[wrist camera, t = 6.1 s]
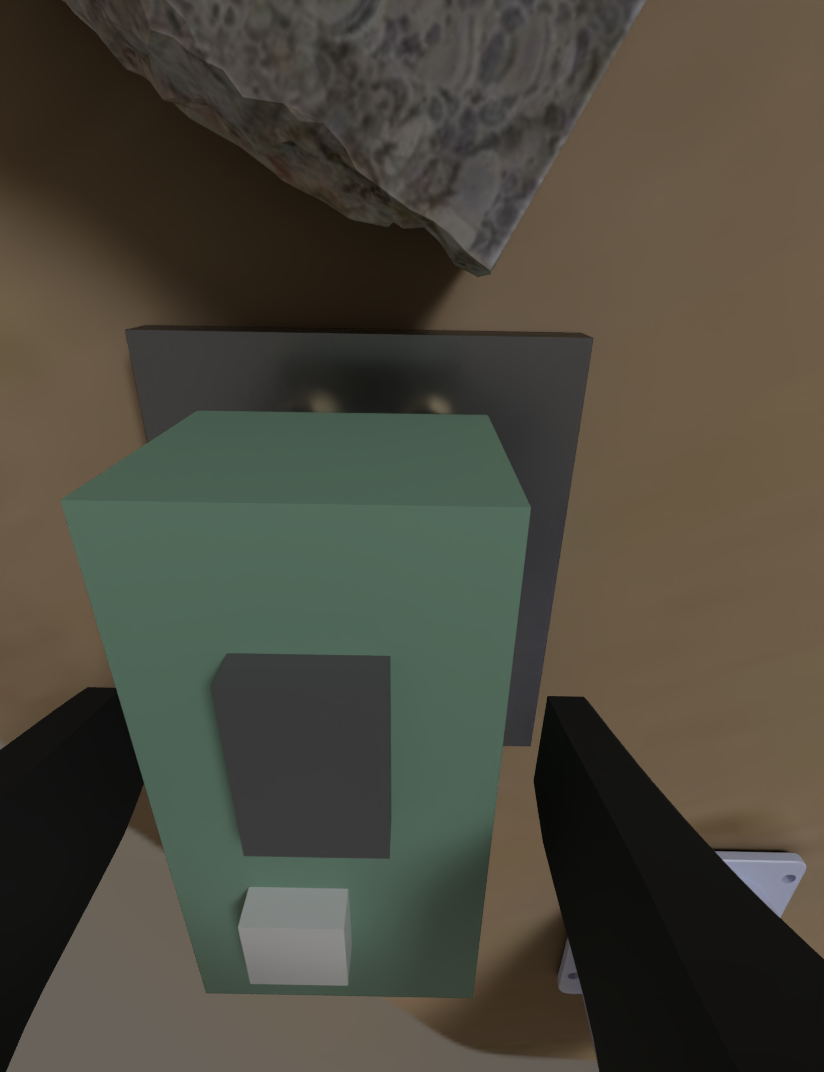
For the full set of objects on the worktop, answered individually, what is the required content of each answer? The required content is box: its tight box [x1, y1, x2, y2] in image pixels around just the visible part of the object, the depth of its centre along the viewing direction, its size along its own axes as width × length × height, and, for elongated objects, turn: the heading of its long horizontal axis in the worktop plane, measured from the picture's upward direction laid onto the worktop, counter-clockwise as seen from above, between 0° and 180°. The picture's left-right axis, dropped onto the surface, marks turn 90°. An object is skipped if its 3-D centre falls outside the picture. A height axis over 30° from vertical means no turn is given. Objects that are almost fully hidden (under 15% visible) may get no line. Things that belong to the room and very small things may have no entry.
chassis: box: [125, 325, 593, 746], centre depth 13 cm, size 12×10×4 cm
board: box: [61, 411, 531, 998], centre depth 10 cm, size 10×5×5 cm, turn 179°
